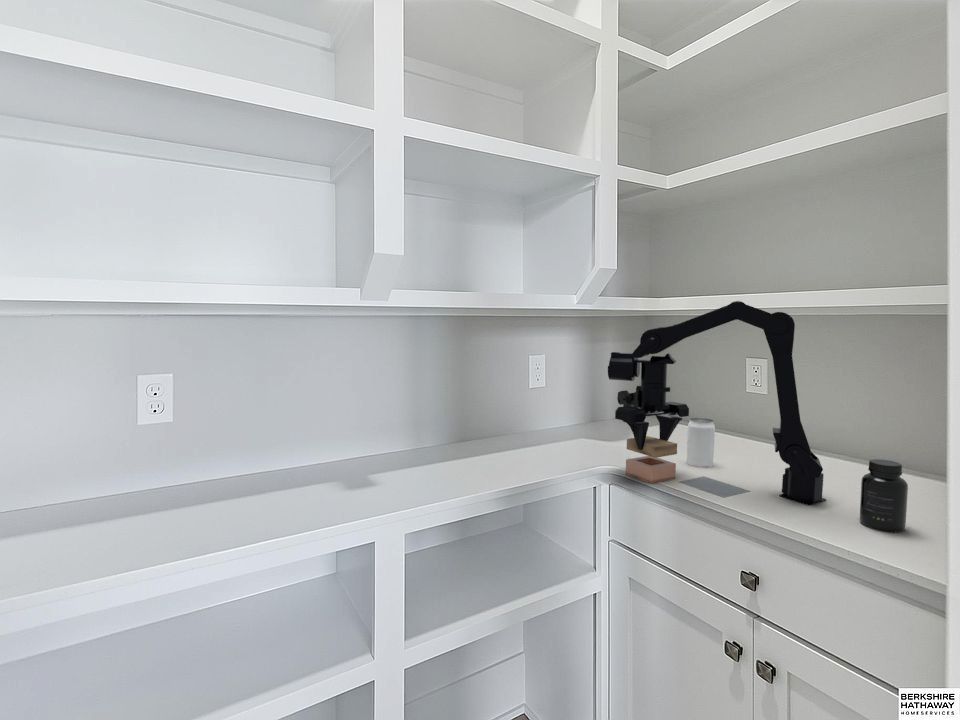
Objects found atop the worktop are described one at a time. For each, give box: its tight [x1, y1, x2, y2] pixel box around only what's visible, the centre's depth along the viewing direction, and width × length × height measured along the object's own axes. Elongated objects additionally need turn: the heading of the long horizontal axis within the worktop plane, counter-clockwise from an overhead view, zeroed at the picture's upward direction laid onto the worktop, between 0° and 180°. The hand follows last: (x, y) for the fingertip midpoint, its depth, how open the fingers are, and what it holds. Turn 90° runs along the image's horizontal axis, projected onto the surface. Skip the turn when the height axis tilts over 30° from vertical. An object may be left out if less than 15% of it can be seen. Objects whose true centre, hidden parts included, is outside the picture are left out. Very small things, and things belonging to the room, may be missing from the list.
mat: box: [678, 476, 751, 499], centre depth 118 cm, size 12×9×1 cm
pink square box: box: [625, 455, 677, 485], centre depth 125 cm, size 8×8×4 cm
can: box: [685, 417, 716, 468], centre depth 136 cm, size 6×6×12 cm
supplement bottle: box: [859, 458, 909, 533], centre depth 97 cm, size 7×7×12 cm
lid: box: [626, 435, 678, 458], centre depth 125 cm, size 9×7×2 cm
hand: (651, 447), depth 125 cm, fingers closed on lid, 7 cm apart
